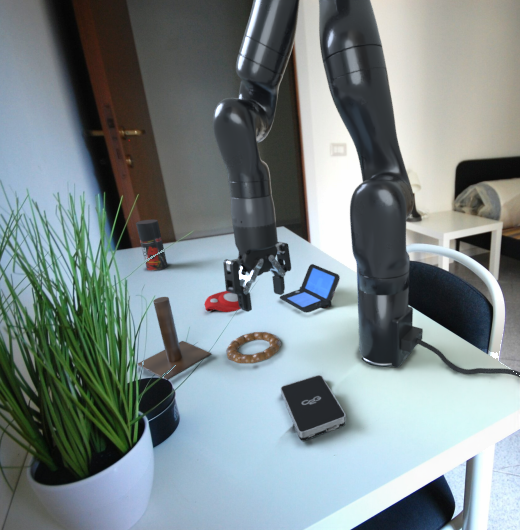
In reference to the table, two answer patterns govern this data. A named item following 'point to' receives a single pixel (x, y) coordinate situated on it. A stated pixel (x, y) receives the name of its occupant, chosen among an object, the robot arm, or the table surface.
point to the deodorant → (151, 244)
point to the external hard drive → (312, 407)
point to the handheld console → (314, 290)
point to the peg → (171, 346)
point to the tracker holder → (222, 302)
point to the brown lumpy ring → (253, 358)
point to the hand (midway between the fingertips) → (263, 301)
